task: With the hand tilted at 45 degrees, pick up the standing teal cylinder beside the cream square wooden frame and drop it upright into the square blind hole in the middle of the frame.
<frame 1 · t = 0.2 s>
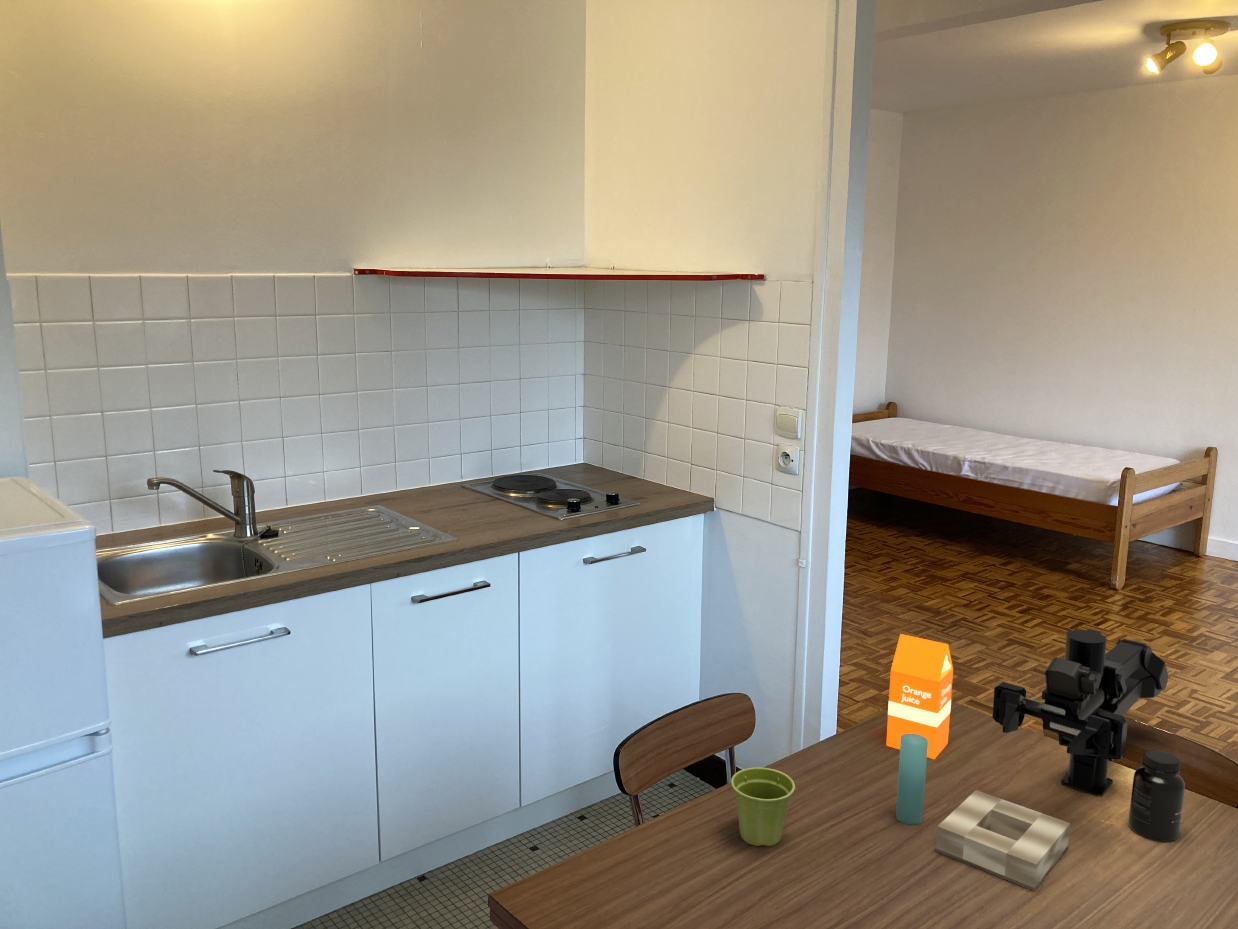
hand: (1035, 739, 140), 17 cm above the table, tool horizontal, fingers open, 9 cm apart
orange juice: (916, 745, 174), on the table
plant pot: (760, 837, 145), on the table
cream square wooden frame: (1001, 849, 142), on the table
teal cylinder: (909, 817, 150), on the table
supplement bottle: (1153, 831, 147), on the table
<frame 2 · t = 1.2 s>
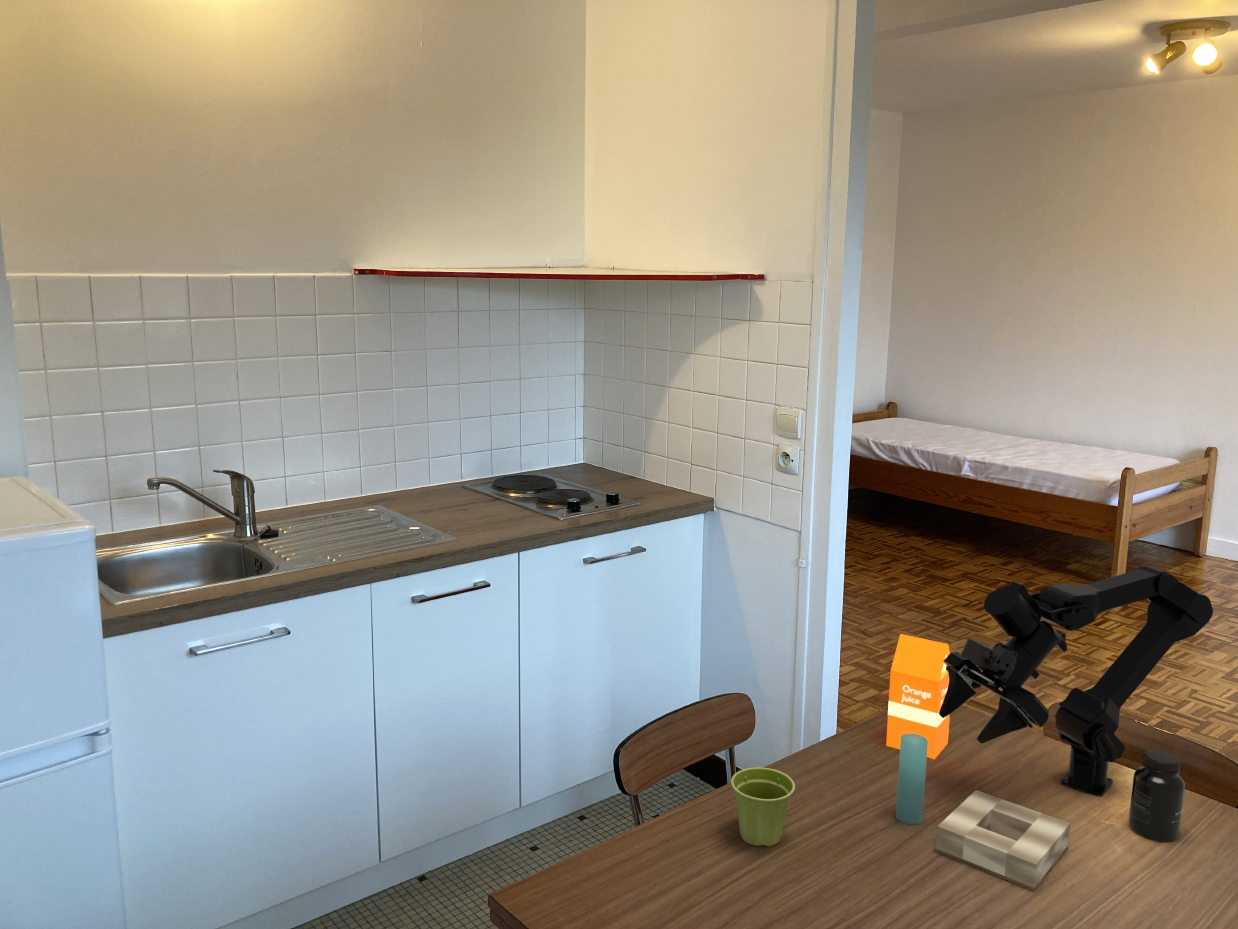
hand: (959, 728, 150), 14 cm above the table, tool tilted 45°, fingers open, 9 cm apart
nothing on the table moved.
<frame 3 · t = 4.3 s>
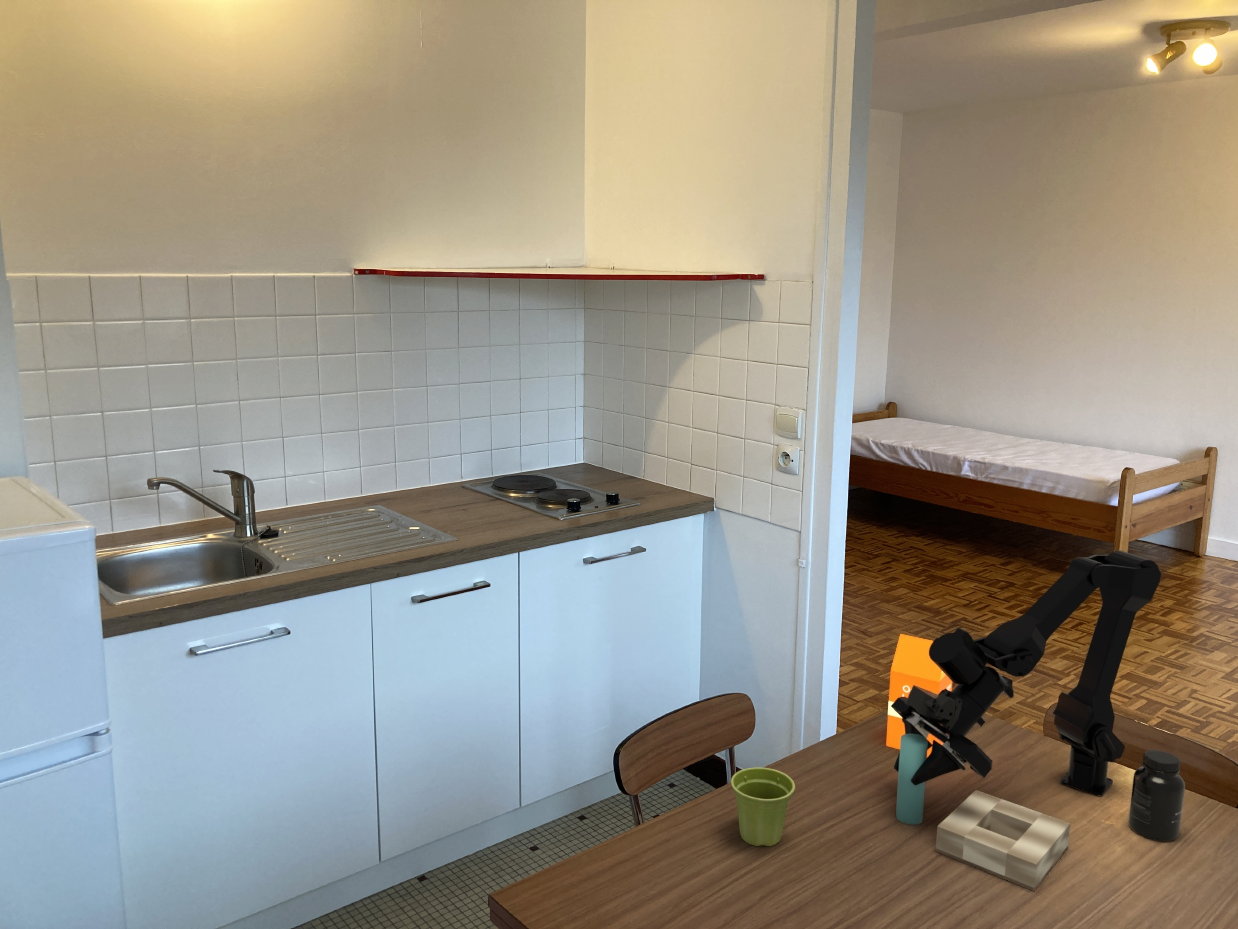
hand: (904, 776, 148), 7 cm above the table, tool tilted 45°, fingers closed on teal cylinder, 4 cm apart
teal cylinder: (909, 817, 150), on the table, touching gripper
everything else where it was.
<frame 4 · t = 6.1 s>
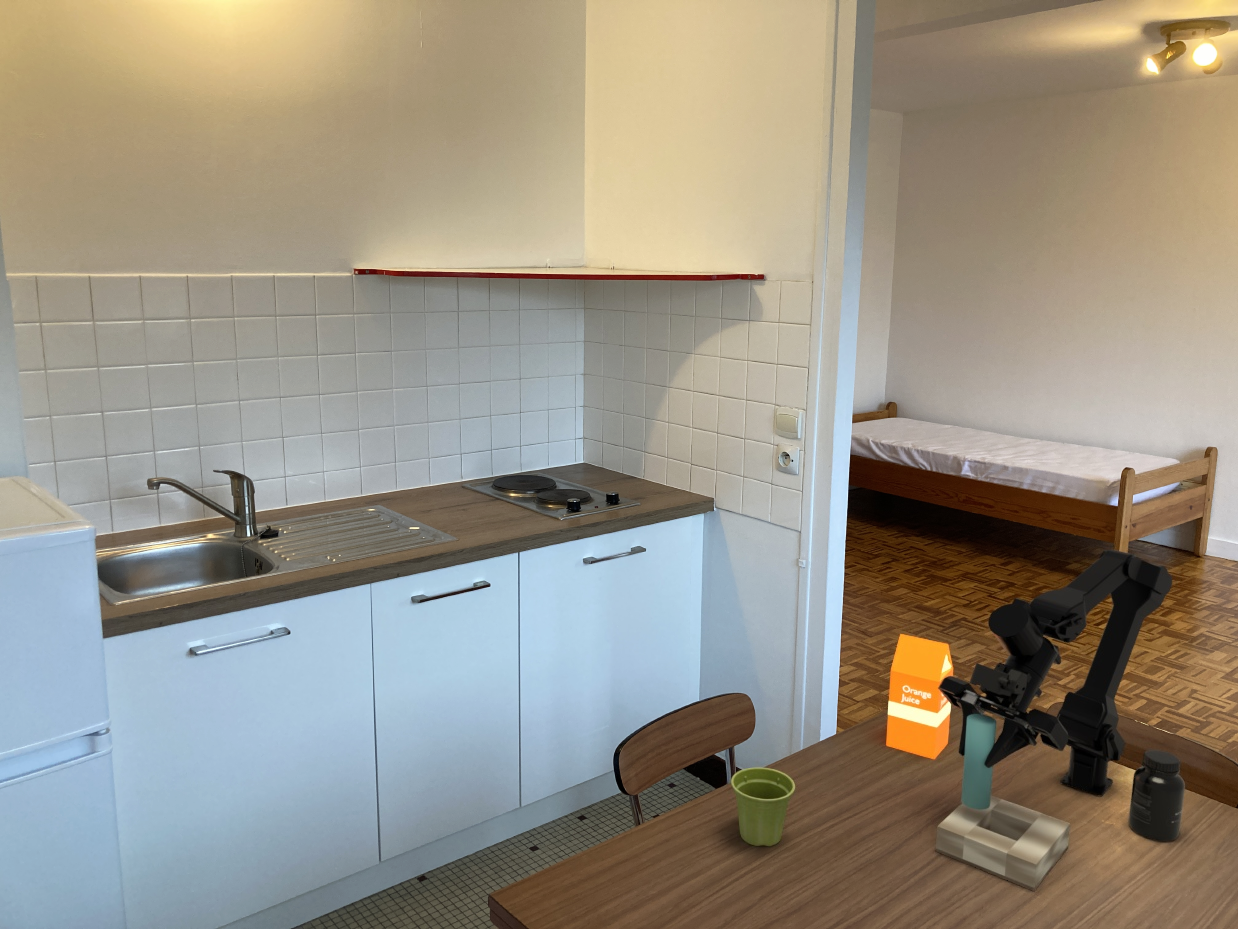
hand: (973, 760, 141), 13 cm above the table, tool tilted 45°, fingers closed on teal cylinder, 4 cm apart
teal cylinder: (975, 802, 143), point 6 cm above the table, touching gripper
everything else where it was.
when the fingers open (9 cm above the table, at t = 8.2 s): teal cylinder drops 1 cm, resting on cream square wooden frame.
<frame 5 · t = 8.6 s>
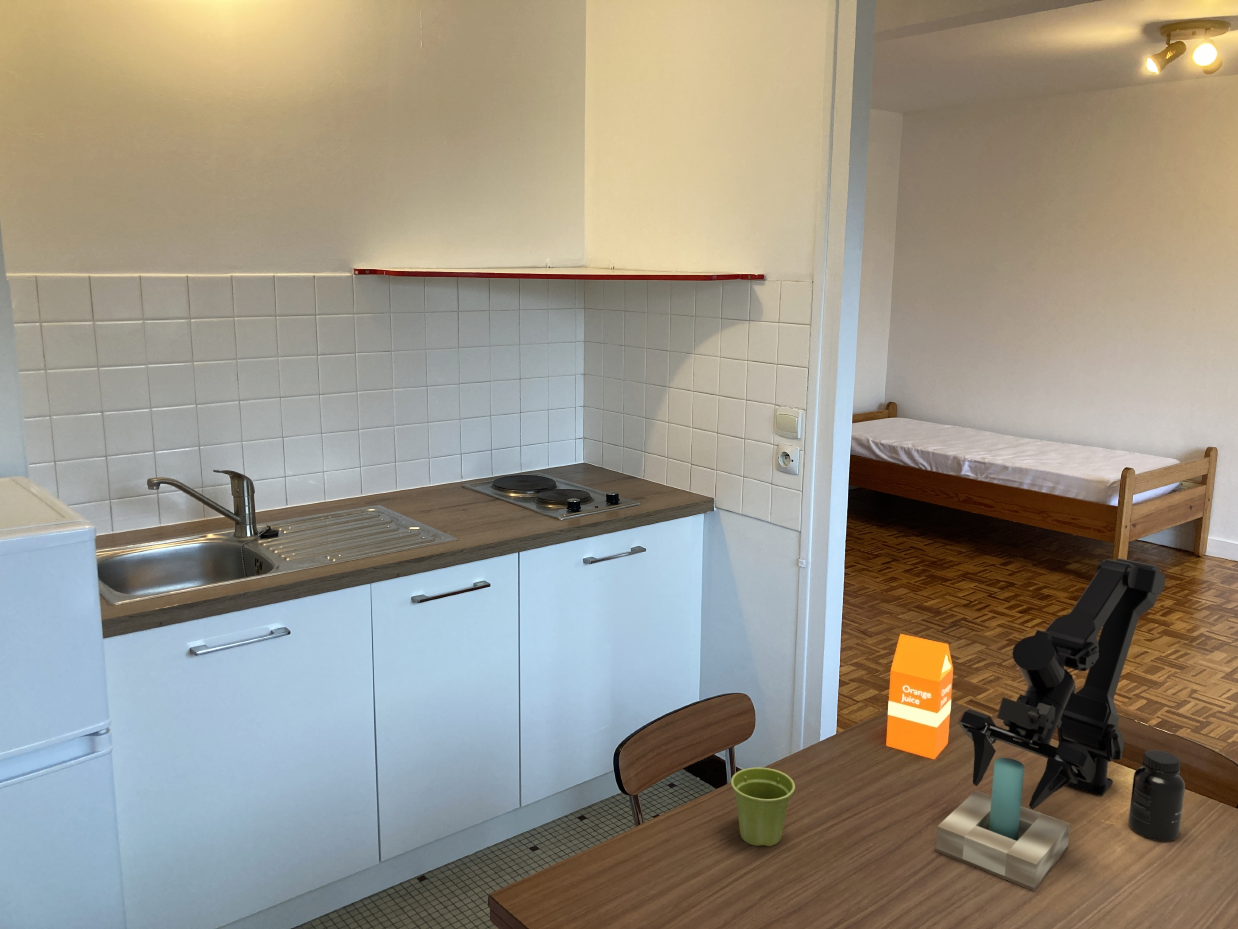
hand: (1002, 796, 139), 9 cm above the table, tool tilted 45°, fingers open, 8 cm apart
teal cylinder: (1002, 846, 142), point 1 cm above the table, touching cream square wooden frame
everything else where it was.
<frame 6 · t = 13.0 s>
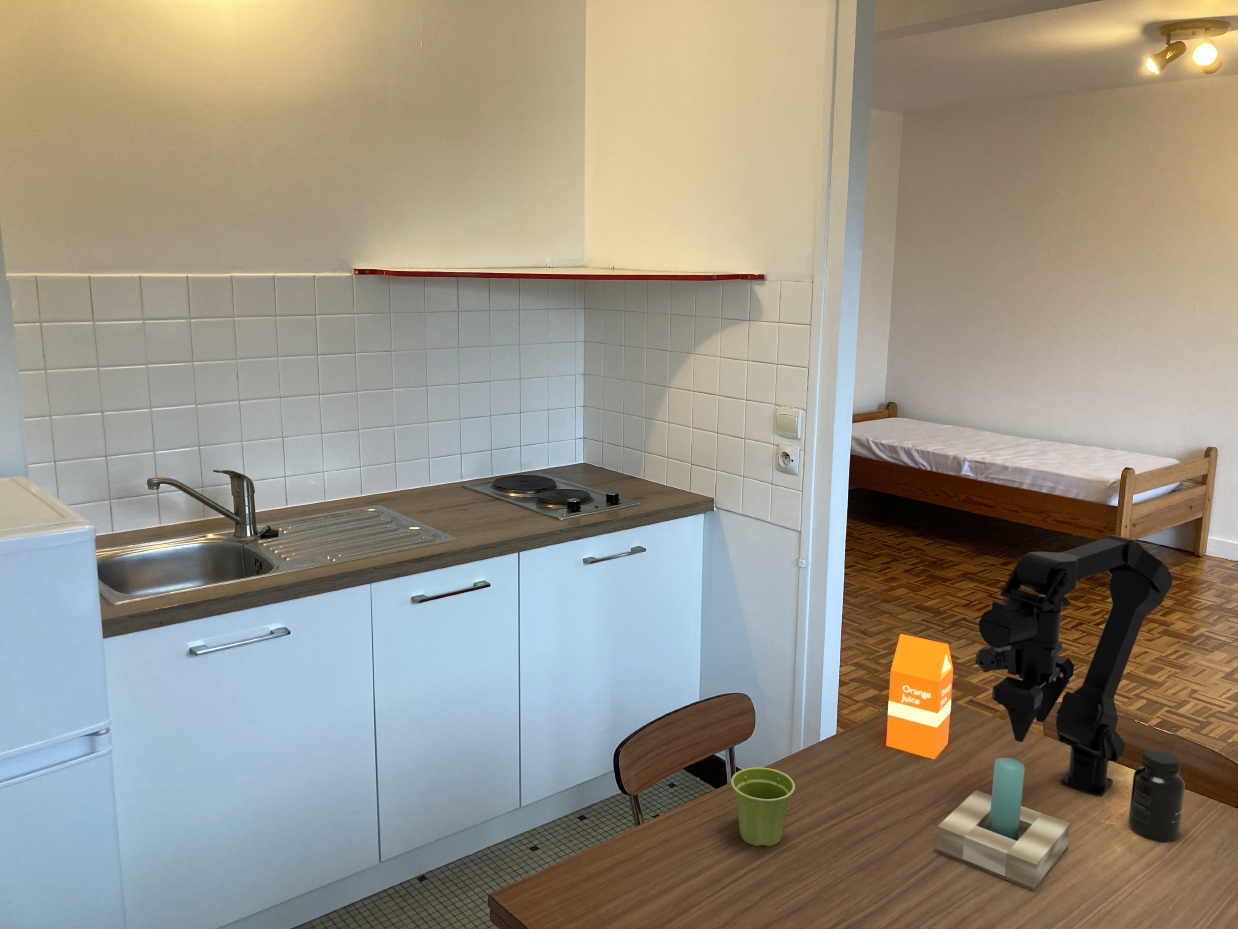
hand: (1029, 731, 151), 13 cm above the table, tool pointing down, fingers open, 9 cm apart
nothing on the table moved.
at the end: teal cylinder 0.0 cm off-centre on the cream square wooden frame, point 0.5 cm above the cream square wooden frame's base; teal cylinder tilted 0°; the gripper is holding nothing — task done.
